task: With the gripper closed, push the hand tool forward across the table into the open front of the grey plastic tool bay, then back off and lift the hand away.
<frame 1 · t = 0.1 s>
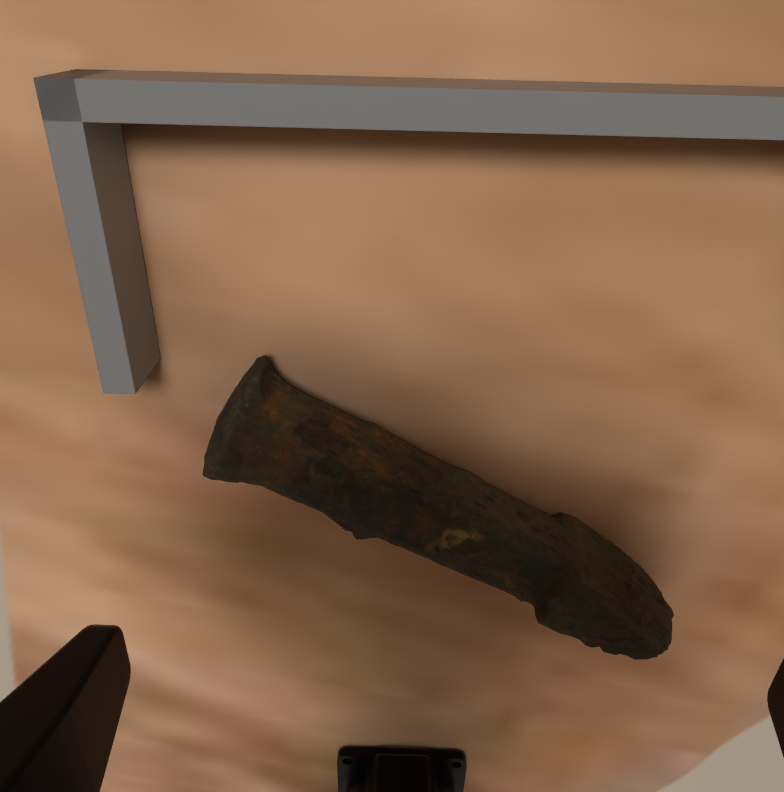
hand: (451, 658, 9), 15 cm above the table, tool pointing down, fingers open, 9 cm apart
tool bay: (489, 254, 21), on the table
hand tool: (466, 474, 26), on the table
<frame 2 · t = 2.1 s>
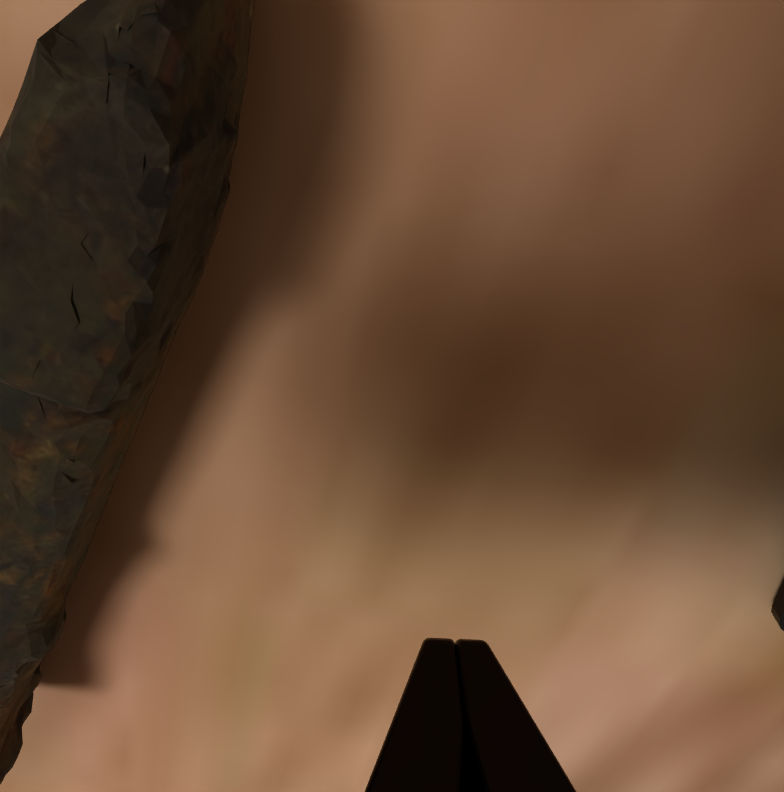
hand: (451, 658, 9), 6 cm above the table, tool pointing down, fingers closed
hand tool: (56, 397, 15), on the table
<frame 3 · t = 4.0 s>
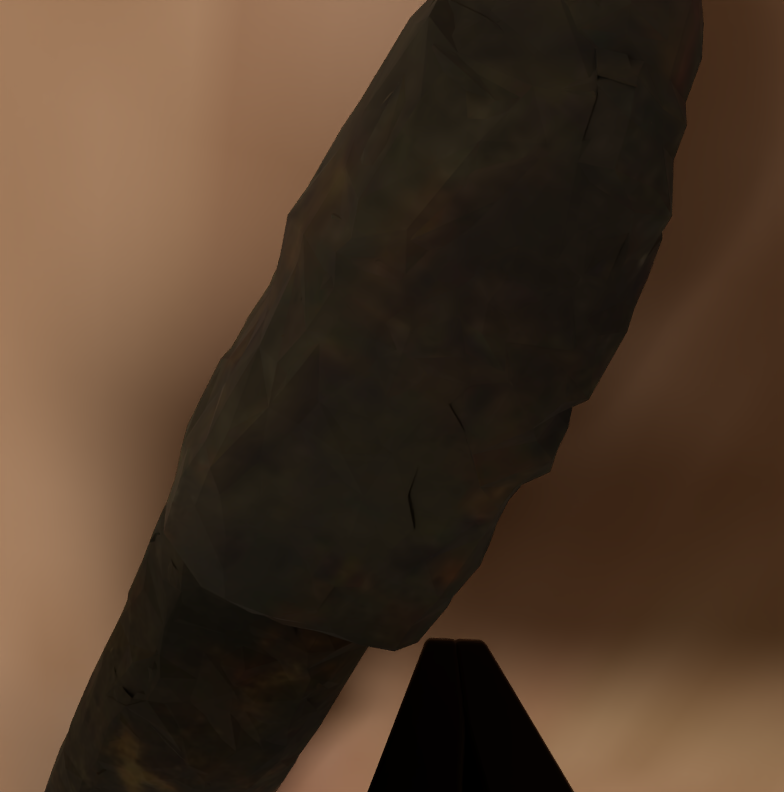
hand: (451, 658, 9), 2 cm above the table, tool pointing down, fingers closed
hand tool: (223, 527, 11), on the table, touching gripper
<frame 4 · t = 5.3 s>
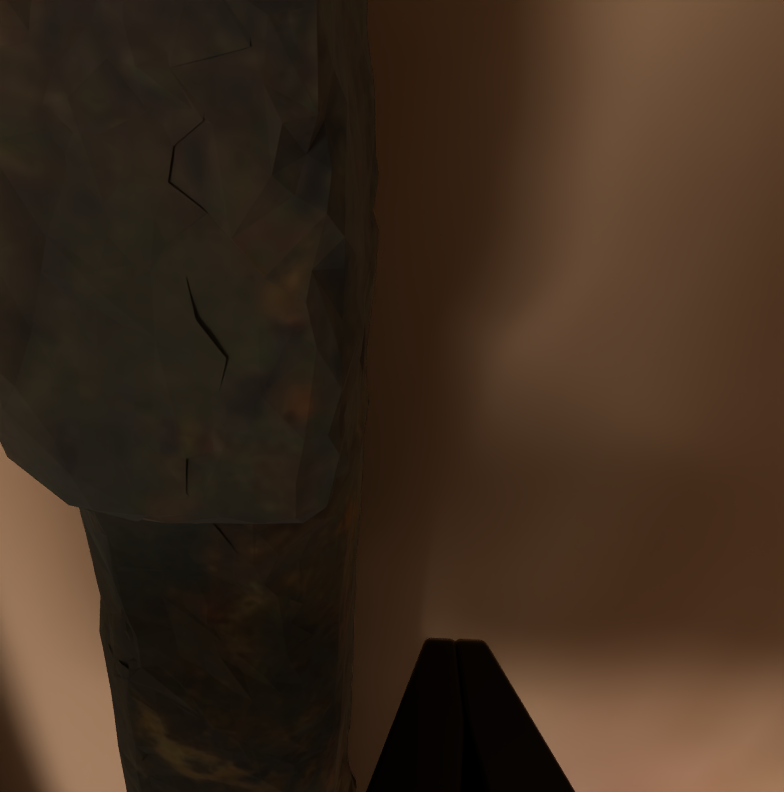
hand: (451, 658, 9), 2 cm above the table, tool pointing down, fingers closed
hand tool: (239, 500, 11), on the table, touching gripper
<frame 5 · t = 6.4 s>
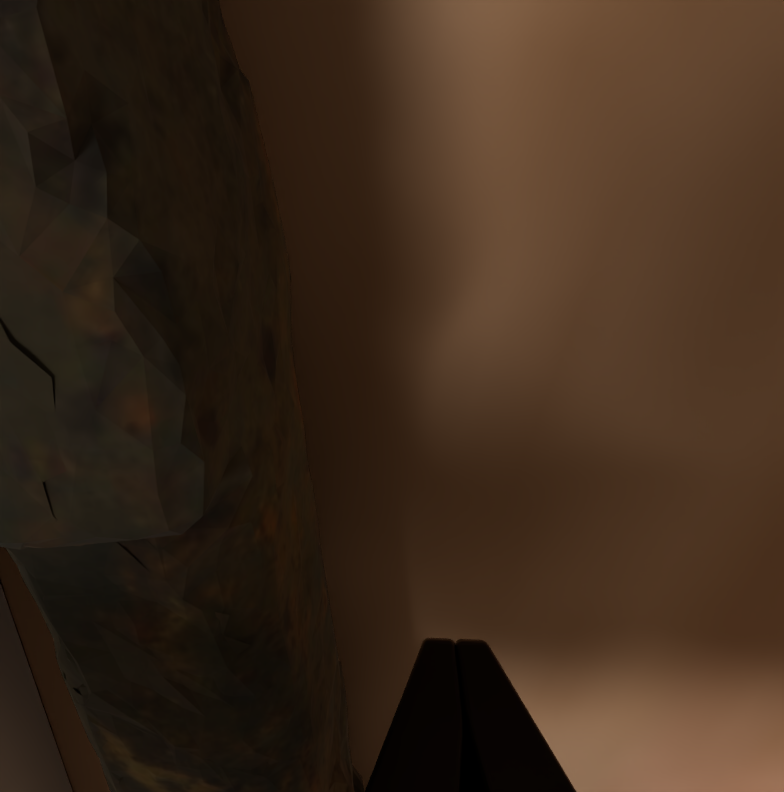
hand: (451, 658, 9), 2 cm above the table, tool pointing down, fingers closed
tool bay: (250, 571, 10), on the table
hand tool: (214, 516, 11), on the table
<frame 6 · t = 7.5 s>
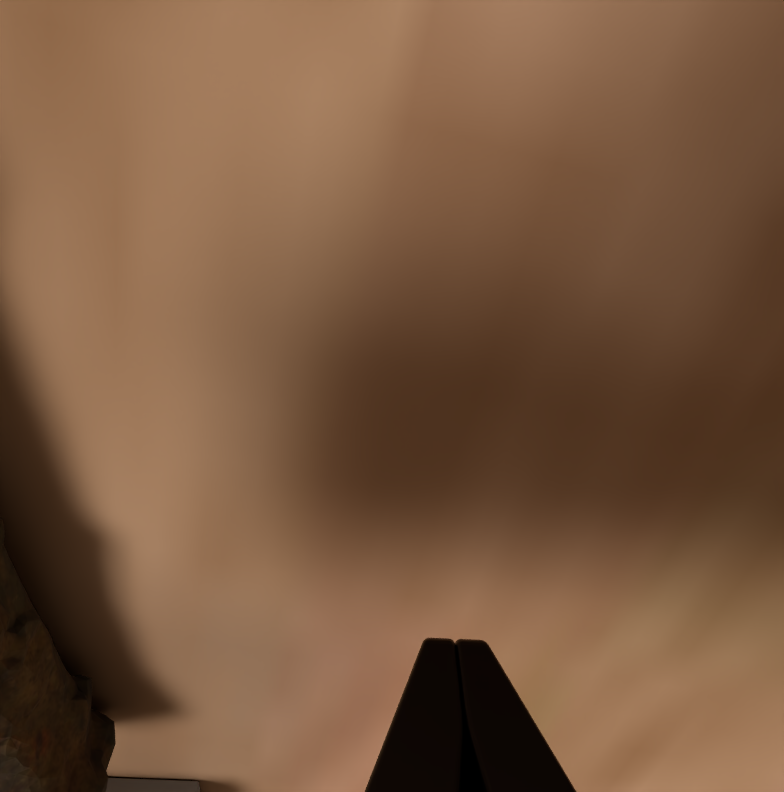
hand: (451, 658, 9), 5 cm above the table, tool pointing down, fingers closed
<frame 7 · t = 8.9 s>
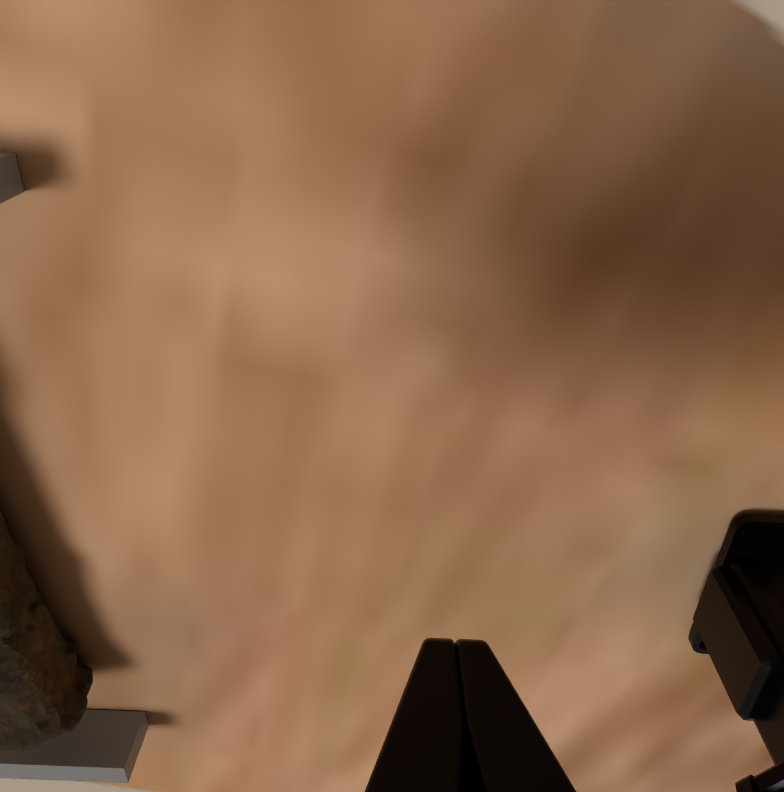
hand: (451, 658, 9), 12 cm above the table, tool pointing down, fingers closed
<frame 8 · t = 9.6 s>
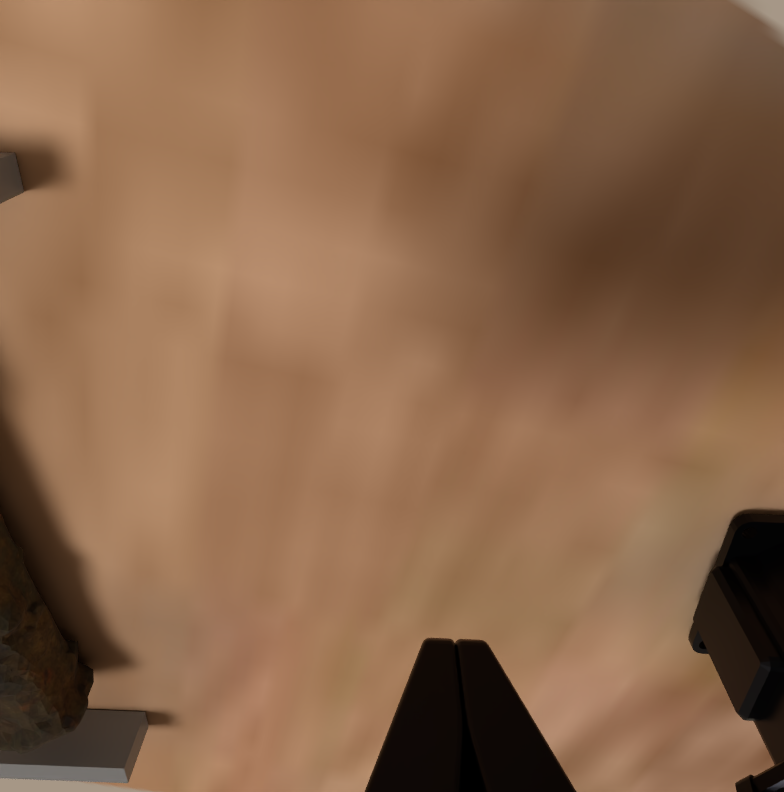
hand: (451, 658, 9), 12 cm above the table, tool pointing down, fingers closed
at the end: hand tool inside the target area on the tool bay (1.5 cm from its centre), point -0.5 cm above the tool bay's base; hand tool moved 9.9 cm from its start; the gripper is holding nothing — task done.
